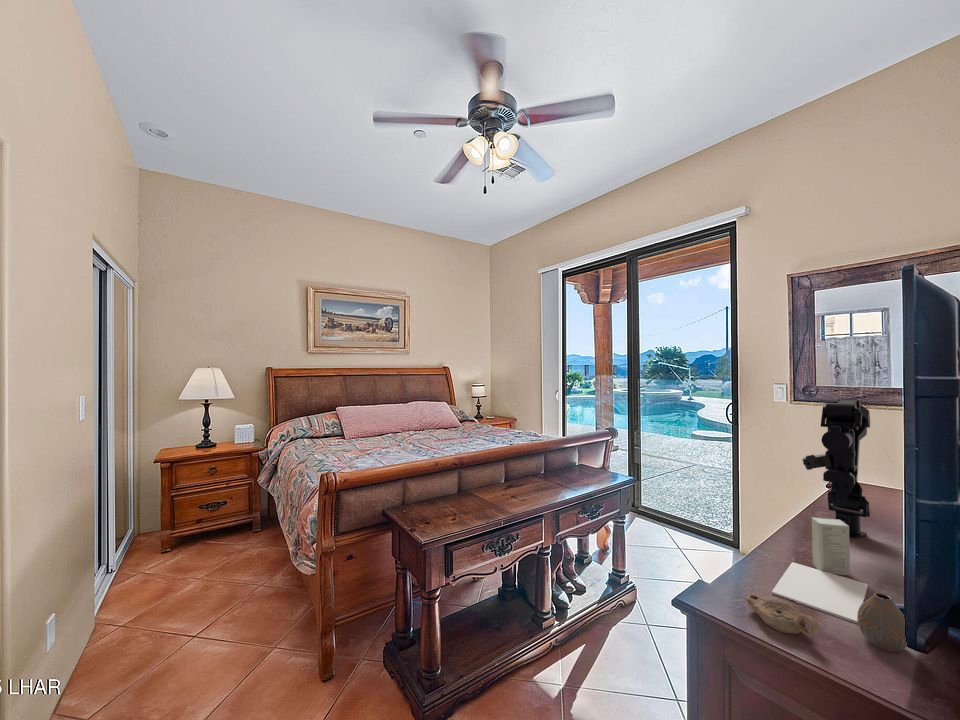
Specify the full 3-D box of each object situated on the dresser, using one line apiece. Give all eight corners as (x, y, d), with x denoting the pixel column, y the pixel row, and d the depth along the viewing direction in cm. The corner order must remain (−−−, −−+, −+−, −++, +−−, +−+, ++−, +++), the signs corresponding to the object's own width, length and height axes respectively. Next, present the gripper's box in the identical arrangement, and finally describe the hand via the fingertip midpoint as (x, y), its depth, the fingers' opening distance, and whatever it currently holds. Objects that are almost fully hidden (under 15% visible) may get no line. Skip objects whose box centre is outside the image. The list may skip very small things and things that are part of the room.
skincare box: (841, 568, 101) (841, 519, 102) (851, 576, 97) (850, 526, 97) (811, 564, 103) (810, 516, 104) (819, 572, 99) (818, 522, 99)
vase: (922, 660, 70) (921, 609, 70) (875, 655, 71) (874, 604, 71) (890, 634, 76) (890, 587, 77) (848, 629, 78) (847, 583, 78)
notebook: (792, 564, 103) (792, 562, 103) (867, 586, 93) (867, 584, 93) (771, 593, 90) (771, 591, 90) (857, 623, 80) (857, 621, 80)
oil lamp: (737, 610, 84) (737, 586, 84) (765, 604, 86) (765, 581, 86) (801, 653, 72) (800, 625, 72) (832, 646, 73) (832, 618, 73)
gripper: (809, 440, 127) (809, 490, 126) (799, 447, 114) (800, 503, 113) (857, 445, 119) (858, 498, 118) (853, 453, 106) (854, 514, 105)
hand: (841, 503), depth 114 cm, fingers closed
